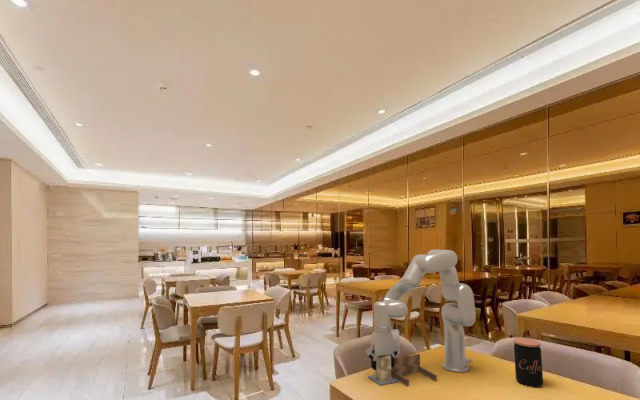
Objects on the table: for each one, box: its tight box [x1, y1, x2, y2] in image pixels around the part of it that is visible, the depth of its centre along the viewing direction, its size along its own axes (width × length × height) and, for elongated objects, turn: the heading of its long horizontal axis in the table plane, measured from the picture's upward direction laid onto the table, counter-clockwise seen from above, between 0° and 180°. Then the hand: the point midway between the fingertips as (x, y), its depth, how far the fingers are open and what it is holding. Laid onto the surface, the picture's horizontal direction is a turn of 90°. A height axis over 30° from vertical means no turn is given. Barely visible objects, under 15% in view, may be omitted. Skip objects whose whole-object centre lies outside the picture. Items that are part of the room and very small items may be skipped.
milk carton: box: [389, 328, 401, 357], centre depth 174 cm, size 7×7×19 cm
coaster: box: [367, 374, 400, 386], centre depth 159 cm, size 10×10×1 cm
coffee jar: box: [513, 337, 544, 388], centre depth 157 cm, size 11×11×18 cm
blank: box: [375, 355, 391, 381], centre depth 160 cm, size 5×5×10 cm
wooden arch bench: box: [391, 353, 438, 387], centre depth 161 cm, size 16×13×8 cm
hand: (383, 367), depth 159 cm, fingers open, 9 cm apart
